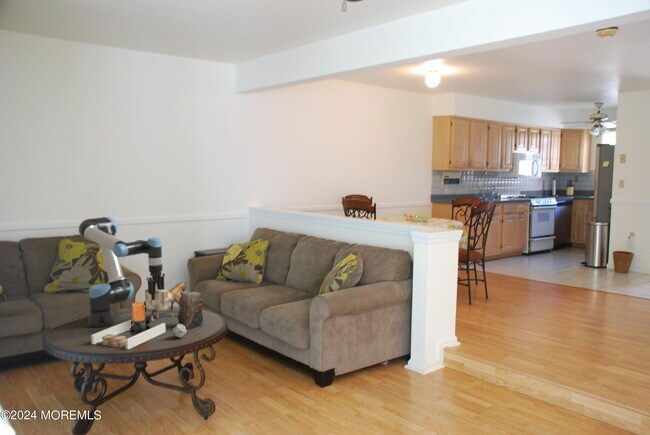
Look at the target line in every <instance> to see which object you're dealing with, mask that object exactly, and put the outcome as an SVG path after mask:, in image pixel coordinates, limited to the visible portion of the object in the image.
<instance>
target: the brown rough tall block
mask: <svg viewBox="0 0 650 435" xmlns="http://www.w3.org/2000/svg"><path fill="white" fill-rule="evenodd" d="M180 296H181V297H180V299H179V304H178V307H179V311H178V314H177V320H178V322H179V324H183V325H184V324H185V327H186V330H187V331H189V330H192V329H195V328H198V327H201V326H202V322H203V321H204V317H203V312H202V311H203V309H204V300H203V292H198V291H189V292H187V291H186V292H183V291H181V292H180Z"/></svg>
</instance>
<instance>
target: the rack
mask: <svg viewBox="0 0 650 435" xmlns="http://www.w3.org/2000/svg"><path fill="white" fill-rule="evenodd" d="M132 320H133V319H128V320H127V321H124V322H121V323H119V324H116V325H112V326H111V327H108V328H105V329H103V330H101V331H98V332H96V333H92V334H90V335H91V336H90V338H91V345H93V344H94V345H96V343H97V344H98V342H99V343H101V342H103V340H102V337H103V336H106V335H108V334H112V335H120V334H123V333H125V332H128V331H130V330H131V329H130V328H131V321H132ZM166 329H167V328H166V323H165V322H162V323H160V324H158V325H155V326H153V327H151V328H149V329H147V330H144V331H142V332H140V333H137V334H135V335H132V336H131V337H128V338H126V346H125V350H130V349H132V348H134V347H136V346H139V345H140V344H143V343H145V342H148V341H149V340H152V339H154V338H156V337H158V336H160V335H162V334H164V333H166Z"/></svg>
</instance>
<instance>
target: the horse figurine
mask: <svg viewBox="0 0 650 435" xmlns="http://www.w3.org/2000/svg"><path fill="white" fill-rule="evenodd" d="M186 288H187V282H186V281H184V282H183V281H182V282H181V281H180V282H179V283H177V284H176V285H175V286H174V287H172V288H170V289H169V290H168V303H170V304H171V305H170V313H169V314H171V317H175V314H174V313H173V308H174V303H176V304H177V305H179V299H180V297H181V292H187V290H186ZM143 304H144V305H145V313H146V312H147V310H148V309H146V299H145V300H144V301H143ZM154 314H155V317H156V319H159V317H160V316H159V312H158V310H156V309H151V316H150V320H151V321H152V322H155V319H154Z"/></svg>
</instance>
